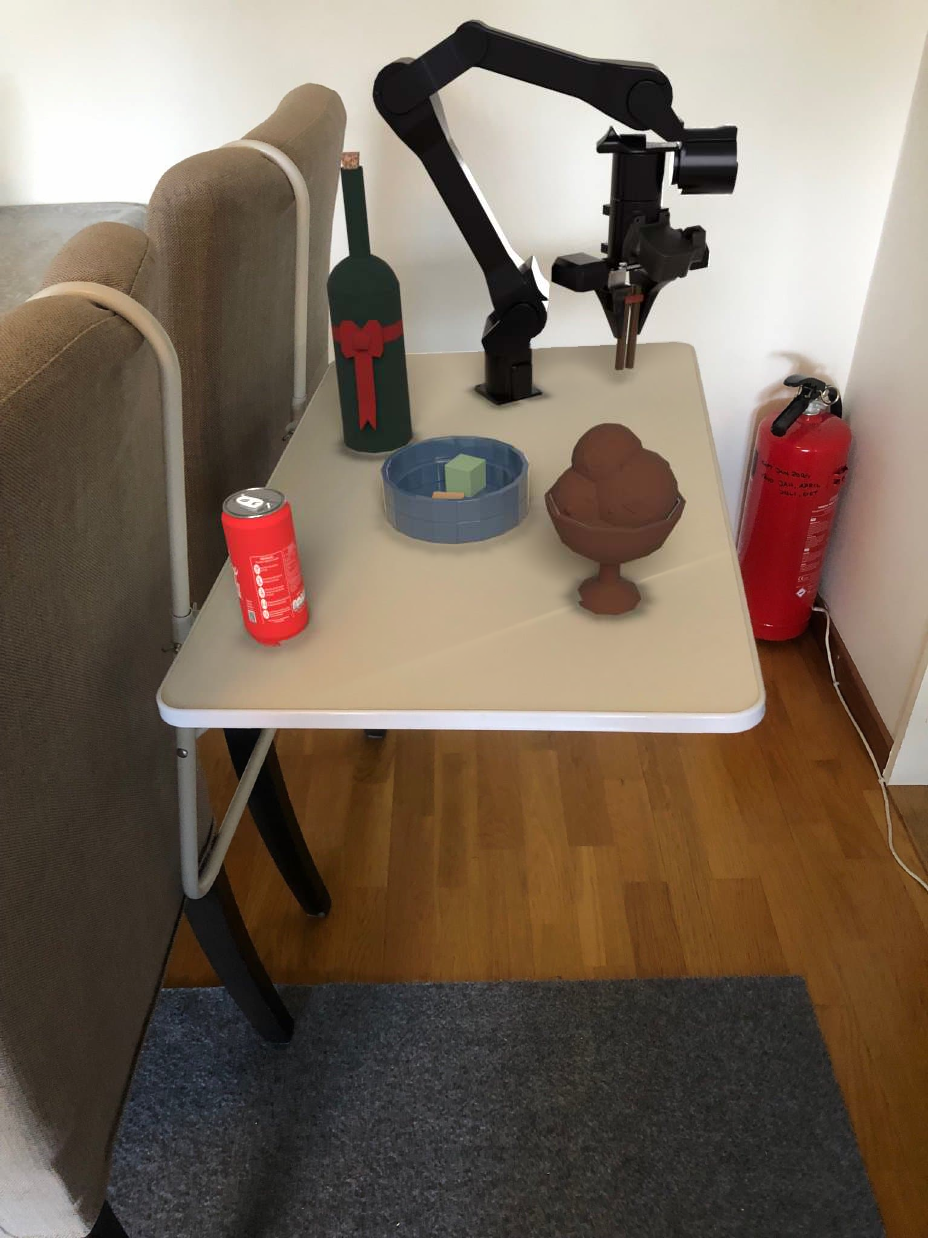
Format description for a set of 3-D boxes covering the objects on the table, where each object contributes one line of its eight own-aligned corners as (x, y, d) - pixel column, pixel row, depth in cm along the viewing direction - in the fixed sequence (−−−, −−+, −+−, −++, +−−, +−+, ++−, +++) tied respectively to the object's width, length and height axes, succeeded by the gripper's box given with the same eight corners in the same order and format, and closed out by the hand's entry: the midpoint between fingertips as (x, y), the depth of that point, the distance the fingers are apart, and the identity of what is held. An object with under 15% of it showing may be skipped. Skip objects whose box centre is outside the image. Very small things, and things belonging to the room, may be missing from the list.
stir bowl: (363, 501, 94) (358, 456, 91) (484, 467, 99) (483, 424, 96) (424, 564, 84) (421, 516, 81) (556, 523, 89) (557, 476, 86)
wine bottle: (336, 467, 101) (296, 166, 83) (349, 429, 109) (316, 147, 91) (407, 466, 100) (383, 163, 83) (415, 427, 108) (395, 144, 91)
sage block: (461, 479, 96) (460, 453, 94) (486, 486, 94) (485, 459, 93) (445, 491, 94) (444, 464, 92) (470, 498, 92) (469, 471, 91)
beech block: (435, 518, 89) (433, 491, 87) (466, 520, 89) (464, 492, 87) (429, 534, 87) (428, 506, 85) (461, 535, 86) (460, 507, 85)
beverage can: (281, 656, 73) (256, 524, 66) (234, 637, 75) (204, 508, 68) (323, 623, 77) (303, 494, 70) (276, 606, 79) (252, 480, 72)
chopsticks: (612, 367, 113) (620, 285, 107) (631, 364, 114) (639, 282, 108) (617, 371, 112) (624, 288, 106) (635, 368, 113) (644, 285, 107)
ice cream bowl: (524, 615, 76) (523, 450, 68) (574, 552, 84) (580, 396, 76) (646, 648, 72) (663, 475, 63) (688, 577, 80) (708, 416, 71)
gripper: (609, 221, 92) (601, 372, 101) (751, 197, 99) (732, 340, 108) (549, 202, 100) (547, 343, 109) (685, 181, 107) (672, 315, 116)
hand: (626, 336), depth 111 cm, fingers closed on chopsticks, 2 cm apart
